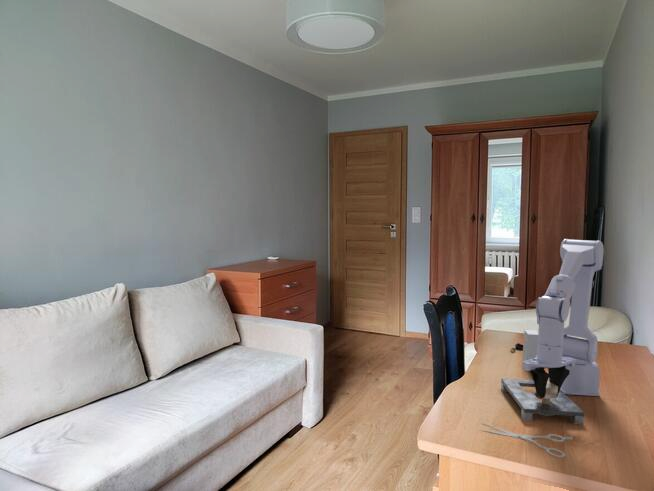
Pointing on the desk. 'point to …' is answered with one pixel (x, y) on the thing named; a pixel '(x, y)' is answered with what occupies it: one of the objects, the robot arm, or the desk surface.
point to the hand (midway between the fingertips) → (547, 395)
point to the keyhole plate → (534, 405)
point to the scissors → (529, 438)
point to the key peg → (549, 395)
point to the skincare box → (530, 345)
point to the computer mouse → (517, 347)
